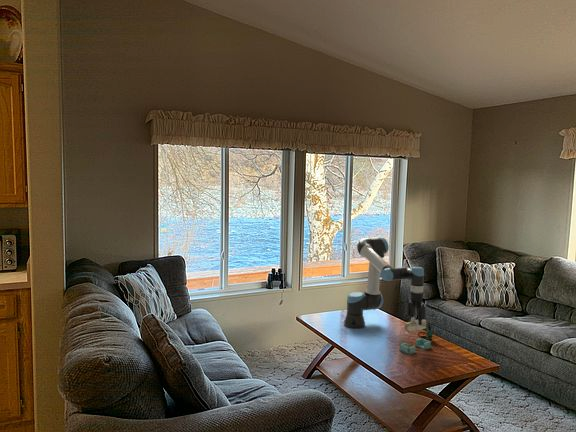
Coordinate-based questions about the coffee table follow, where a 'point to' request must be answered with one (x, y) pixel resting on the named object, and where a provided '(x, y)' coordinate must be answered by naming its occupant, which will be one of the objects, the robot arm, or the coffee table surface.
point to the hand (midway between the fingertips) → (415, 328)
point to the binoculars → (429, 334)
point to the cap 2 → (423, 343)
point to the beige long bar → (414, 326)
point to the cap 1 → (407, 349)
